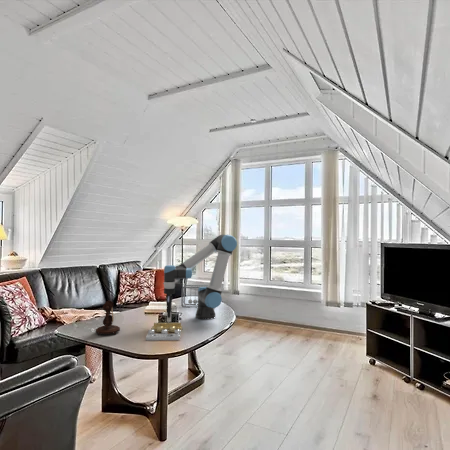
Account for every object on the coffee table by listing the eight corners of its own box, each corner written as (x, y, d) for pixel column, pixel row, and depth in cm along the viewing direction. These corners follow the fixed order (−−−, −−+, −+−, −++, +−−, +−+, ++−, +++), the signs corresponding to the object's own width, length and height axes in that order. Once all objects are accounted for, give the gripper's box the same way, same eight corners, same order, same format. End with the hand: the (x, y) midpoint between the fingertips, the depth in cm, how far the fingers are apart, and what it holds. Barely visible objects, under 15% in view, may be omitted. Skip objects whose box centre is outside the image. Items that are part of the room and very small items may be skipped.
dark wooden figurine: (118, 335, 220) (119, 303, 221) (93, 336, 217) (94, 304, 218) (120, 329, 235) (121, 299, 235) (97, 330, 232) (98, 299, 232)
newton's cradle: (181, 307, 303) (181, 286, 303) (183, 304, 313) (183, 284, 313) (216, 308, 300) (216, 287, 301) (217, 305, 311) (217, 285, 311)
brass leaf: (182, 328, 237) (182, 322, 237) (181, 333, 226) (181, 327, 226) (152, 328, 236) (152, 322, 236) (149, 333, 226) (149, 327, 226)
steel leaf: (180, 334, 223) (180, 328, 223) (179, 340, 212) (179, 333, 212) (149, 335, 222) (149, 329, 222) (145, 340, 211) (145, 334, 211)
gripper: (165, 286, 252) (164, 319, 252) (162, 289, 239) (162, 324, 238) (175, 286, 252) (175, 319, 252) (173, 289, 239) (173, 324, 239)
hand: (168, 321), depth 245 cm, fingers closed
